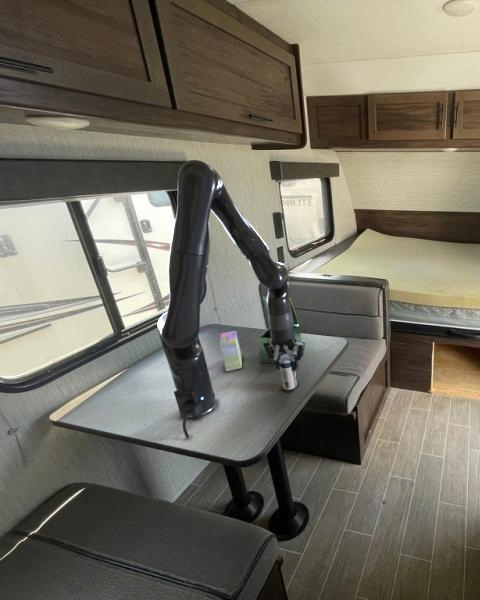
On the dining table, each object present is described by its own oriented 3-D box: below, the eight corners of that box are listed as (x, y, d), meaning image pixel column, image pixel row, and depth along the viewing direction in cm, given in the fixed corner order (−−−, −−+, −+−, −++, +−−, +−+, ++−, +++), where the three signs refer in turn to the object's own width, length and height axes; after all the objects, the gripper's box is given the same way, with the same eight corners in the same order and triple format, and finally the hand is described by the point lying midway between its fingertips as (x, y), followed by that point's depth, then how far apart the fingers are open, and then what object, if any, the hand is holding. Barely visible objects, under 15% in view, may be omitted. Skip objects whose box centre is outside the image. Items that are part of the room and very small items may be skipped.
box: (226, 358, 131) (220, 333, 127) (241, 355, 133) (236, 330, 129) (225, 372, 122) (219, 344, 118) (241, 368, 124) (236, 341, 120)
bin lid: (289, 299, 126) (294, 290, 130) (262, 298, 127) (267, 289, 131) (299, 324, 136) (303, 315, 140) (273, 323, 137) (277, 314, 141)
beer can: (299, 386, 113) (295, 357, 109) (286, 392, 110) (282, 362, 106) (293, 381, 116) (289, 352, 112) (280, 386, 113) (276, 356, 109)
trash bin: (288, 364, 127) (285, 339, 124) (261, 362, 129) (256, 338, 125) (302, 347, 140) (299, 324, 136) (276, 345, 141) (273, 323, 137)
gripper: (254, 327, 102) (262, 373, 108) (297, 330, 100) (303, 376, 106) (266, 318, 109) (273, 361, 115) (306, 320, 107) (311, 364, 113)
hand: (287, 368), depth 111 cm, fingers closed on beer can, 4 cm apart
